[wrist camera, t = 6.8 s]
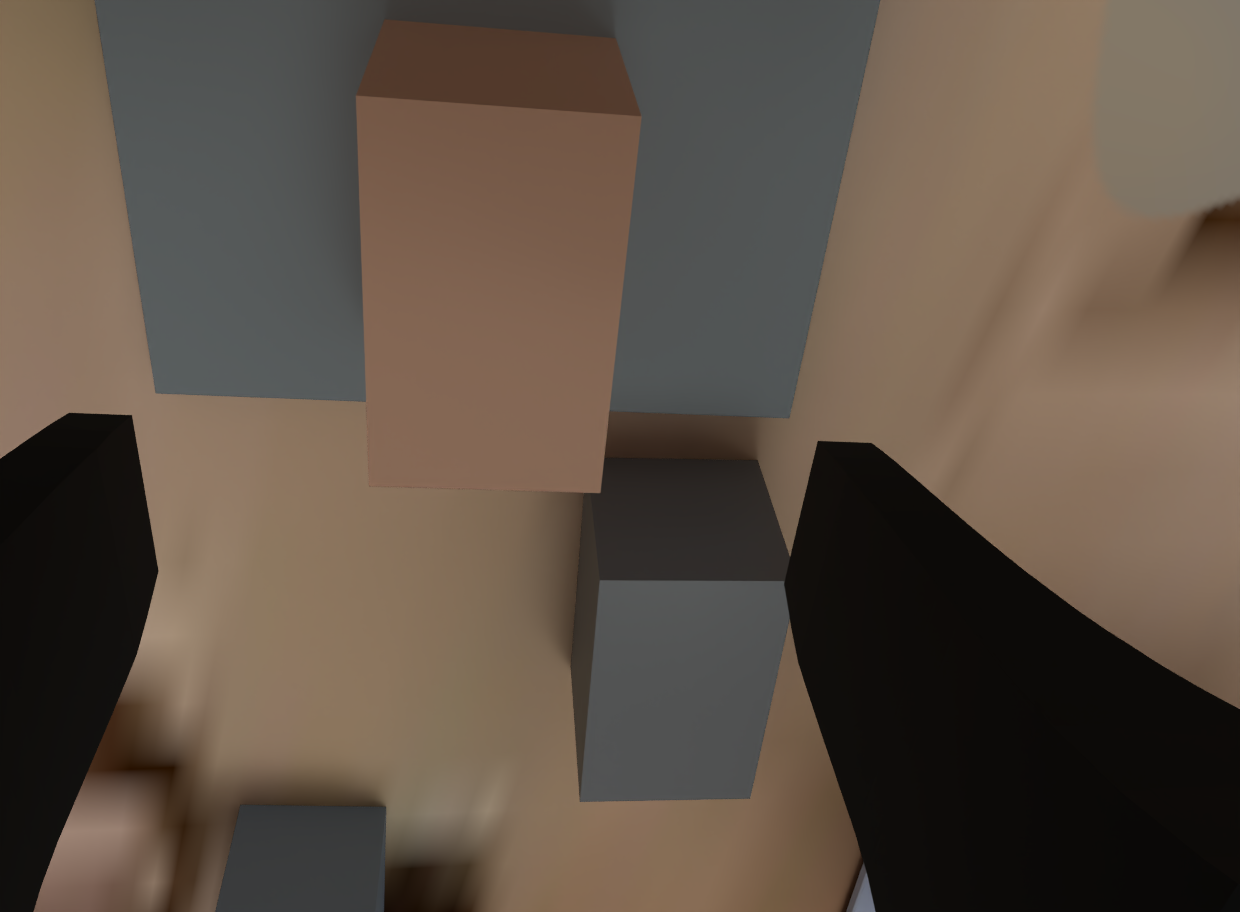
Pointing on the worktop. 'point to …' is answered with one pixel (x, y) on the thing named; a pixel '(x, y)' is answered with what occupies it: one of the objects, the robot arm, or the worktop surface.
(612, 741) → the charcoal brick
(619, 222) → the terracotta brick
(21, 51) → the worktop surface
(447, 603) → the worktop surface
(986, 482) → the worktop surface
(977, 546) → the robot arm
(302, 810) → the dusty-blue brick
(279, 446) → the worktop surface
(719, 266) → the slate mat
